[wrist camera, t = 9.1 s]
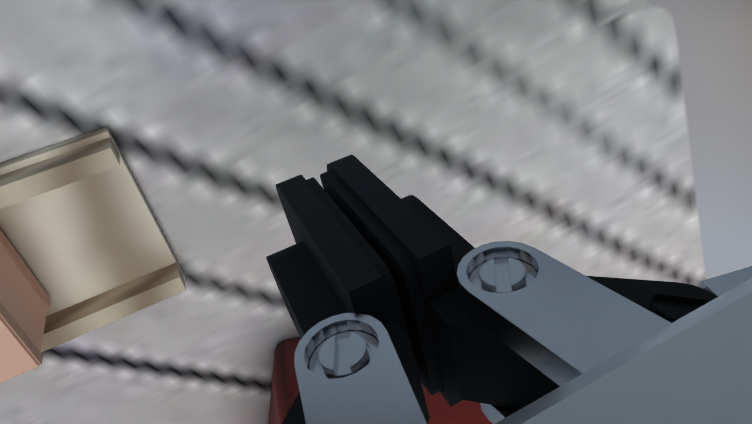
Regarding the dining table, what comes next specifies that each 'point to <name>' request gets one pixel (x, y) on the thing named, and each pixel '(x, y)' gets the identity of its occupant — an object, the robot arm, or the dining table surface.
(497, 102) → the dining table surface
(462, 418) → the plant pot
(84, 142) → the bay
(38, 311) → the pink-tan cube
